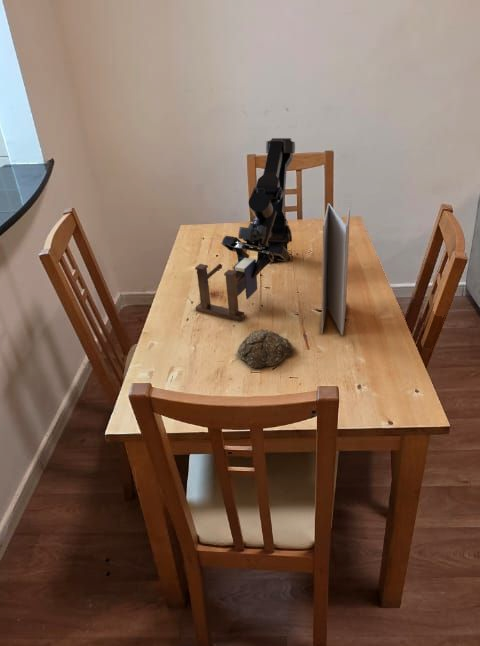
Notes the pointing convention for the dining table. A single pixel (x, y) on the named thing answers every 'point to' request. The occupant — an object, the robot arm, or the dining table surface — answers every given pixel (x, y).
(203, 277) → the peg stand
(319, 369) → the dining table surface
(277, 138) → the robot arm
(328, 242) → the brochure
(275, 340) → the grey brown rock
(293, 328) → the dining table surface
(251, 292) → the book
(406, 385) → the dining table surface
